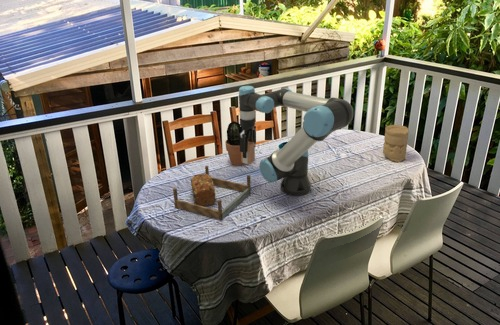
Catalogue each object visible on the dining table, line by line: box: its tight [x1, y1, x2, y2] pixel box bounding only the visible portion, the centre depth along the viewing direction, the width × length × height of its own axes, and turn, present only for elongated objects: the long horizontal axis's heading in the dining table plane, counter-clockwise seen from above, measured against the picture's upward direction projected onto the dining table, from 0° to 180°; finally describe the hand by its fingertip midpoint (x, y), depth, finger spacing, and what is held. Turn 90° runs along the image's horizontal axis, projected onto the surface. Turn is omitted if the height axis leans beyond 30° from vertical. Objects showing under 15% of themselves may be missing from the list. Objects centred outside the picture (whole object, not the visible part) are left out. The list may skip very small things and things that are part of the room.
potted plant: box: [225, 120, 246, 167], centre depth 253 cm, size 14×14×25 cm
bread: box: [190, 173, 216, 207], centre depth 221 cm, size 19×11×10 cm, turn 11°
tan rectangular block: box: [241, 141, 256, 165], centre depth 227 cm, size 5×5×10 cm
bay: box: [172, 165, 252, 221], centre depth 217 cm, size 26×28×10 cm
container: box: [382, 124, 410, 163], centre depth 255 cm, size 13×13×18 cm
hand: (248, 160), depth 229 cm, fingers closed on tan rectangular block, 5 cm apart
